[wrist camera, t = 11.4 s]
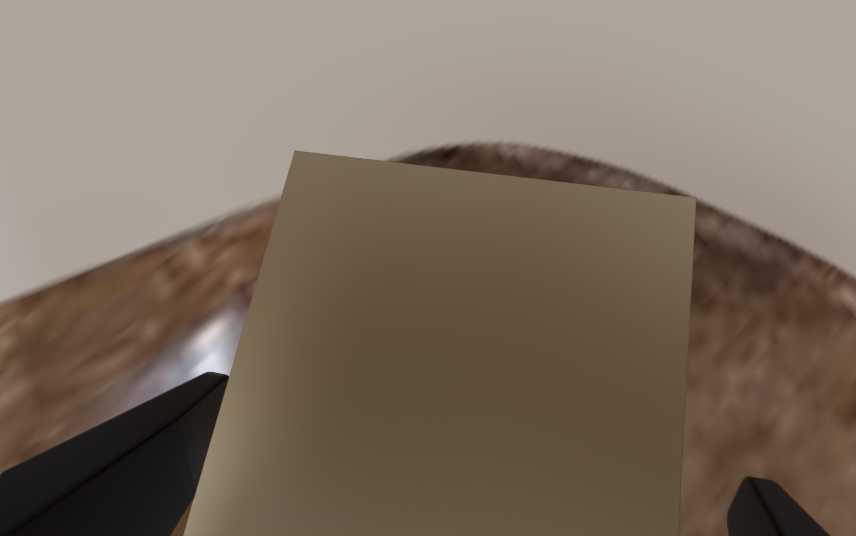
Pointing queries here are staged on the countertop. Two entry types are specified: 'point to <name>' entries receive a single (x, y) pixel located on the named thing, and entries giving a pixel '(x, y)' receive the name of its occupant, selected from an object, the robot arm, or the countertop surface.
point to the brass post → (456, 360)
